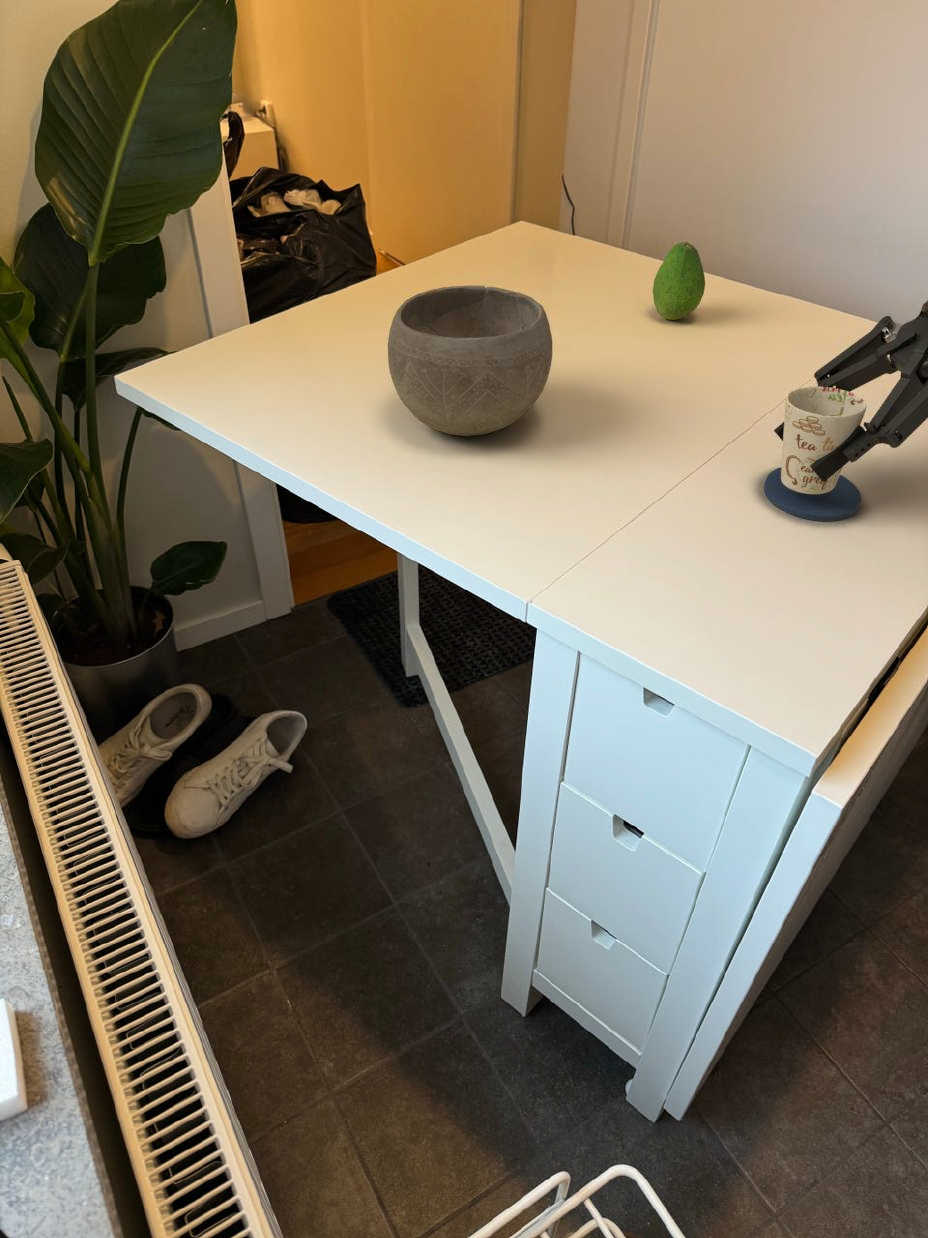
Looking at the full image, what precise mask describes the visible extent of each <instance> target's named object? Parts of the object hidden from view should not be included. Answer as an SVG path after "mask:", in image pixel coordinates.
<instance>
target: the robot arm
mask: <svg viewBox="0 0 928 1238" xmlns="http://www.w3.org/2000/svg"><path fill="white" fill-rule="evenodd" d="M896 372H899V373H900V377H899V380H898V381H897V382H896V384H895V385H894V387H893V388H892V389H891V391H890V392H889V394H888V395H887V397H886V398H885V399H884V401H883V402H882V404H881V405H880V406H879V408H878V409H877V411H876V412H875V414H874V415H873V417H872V418H871V419H870V421H869V422H867V421H864V422H863V426H862V425H861V424H860V425H858V426H857V428H856V429H855V430H854V431H853V433H852V434H851V435H850V436H849V437H848V438H847V439H846V440H845V441H844V442H843V443H842V444H841V445H840V446H838V447H837V448H836V449H835V450H833V451H832V452H830V453H829V454H827V455H825V456H824V457H822V458H820V459H818V460H816V461H815V462H814V463H813V464H812V465H810V467H811V468H812V470H813V471H814V472H815V473H816V474H817V475H818V477H819V478H820V479H821V480H822V481H823V482H825V481H826V480H827V479H828V478H830V477H831V476H832V475H833V474H835V473H836V472H837V471H838V470H839V469H841V468H842V467H843V468H844V466H846V465H847V464H848V463H849V462H850V463H851V464H852V463H855V462H857V461H858V460H859V459H861V457H863V456H864V455H865V454H867V452H869V451H870V450H872V449H873V448H874V447H876V446H877V445H881V444H884V445H888V446H889V447H890V448H891V449H896V448H898V447H900V446H901V445H902V444H903V443H904V442H905V441H907V439H909V437H910V436H912V434H913V433H914V432H916V430H918V429H919V427H920V426H922V424H923V423H924V422H925V421H926V420H927V419H928V299H927V300H926V301H925V302H924V303H923V304H922V306H921V308H920V311H919V314H918V315H917V316H916V317H915V318H913V319H912V320H909V321H907V322H905V323H903V324H901V323H898V322H895V321H894V320H893V319H892V317H891V316H890V315H886V316H883V317H882V318H881V319H879V321H878V322H877V323H876V324H875V325H874V327H873V328H872V329H871V330H870V331H869V332H868V333H866V334H864V335H863V336H862V337H861V338H859V339H858V340H857V341H855V342H854V343H853V344H851V345H850V346H848V347H847V348H846V349H845V350H843V351H842V352H840V353H839V354H838V355H837V356H834V358H832V359H831V360H829V361H828V362H827V363H826V364H824V365H823V366H821V367H820V368H819V369H817V370H816V371H814V374H813V377H814V378H815V380H816V383H817V387H830V388H836V389H841V390H845V391H848V392H852V391H854V390H857V389H858V388H860V387H862V386H864V385H866V384H868V383H870V382H872V381H873V380H875V379H878V378H880V377H882V376H883V375H892V374H894V373H896ZM773 432H774V433H775V434H776V435H777V436H778V438H779V439H780V440H781V442H783V434H784V421H782V422H781V423H780V424H779V425H778V426H777V427H775V428H774V430H773ZM843 468H842V469H843Z"/></svg>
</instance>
